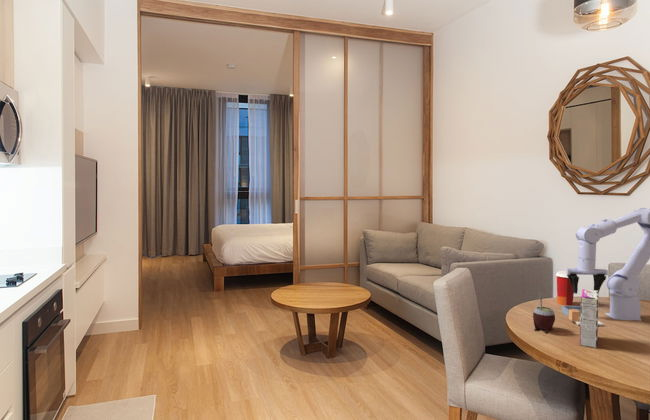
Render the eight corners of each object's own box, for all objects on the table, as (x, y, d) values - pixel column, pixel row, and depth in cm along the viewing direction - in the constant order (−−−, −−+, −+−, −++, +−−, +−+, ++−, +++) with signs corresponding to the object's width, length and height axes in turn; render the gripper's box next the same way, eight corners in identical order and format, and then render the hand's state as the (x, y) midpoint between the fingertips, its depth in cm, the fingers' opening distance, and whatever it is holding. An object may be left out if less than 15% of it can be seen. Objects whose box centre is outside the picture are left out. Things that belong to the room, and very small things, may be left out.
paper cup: (573, 303, 190) (574, 271, 189) (577, 308, 182) (578, 275, 181) (553, 301, 192) (554, 270, 191) (556, 306, 185) (557, 273, 184)
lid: (593, 320, 166) (594, 308, 166) (603, 326, 159) (603, 314, 159) (566, 319, 167) (566, 307, 167) (574, 326, 160) (574, 313, 160)
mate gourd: (549, 327, 160) (550, 287, 159) (559, 335, 152) (560, 292, 151) (528, 327, 160) (529, 286, 159) (537, 334, 152) (538, 292, 151)
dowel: (578, 314, 174) (577, 309, 175) (580, 313, 173) (579, 308, 173) (571, 313, 175) (570, 309, 175) (573, 312, 173) (572, 308, 174)
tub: (582, 313, 175) (582, 306, 175) (590, 318, 169) (590, 311, 169) (561, 312, 176) (561, 305, 176) (568, 318, 170) (568, 310, 170)
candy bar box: (580, 335, 152) (582, 288, 151) (597, 337, 149) (599, 290, 148) (579, 345, 143) (580, 296, 141) (597, 348, 140) (599, 298, 139)
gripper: (601, 256, 171) (600, 290, 172) (562, 256, 173) (561, 290, 174) (611, 260, 164) (609, 295, 165) (570, 259, 166) (569, 294, 167)
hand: (585, 293), depth 169 cm, fingers open, 7 cm apart
